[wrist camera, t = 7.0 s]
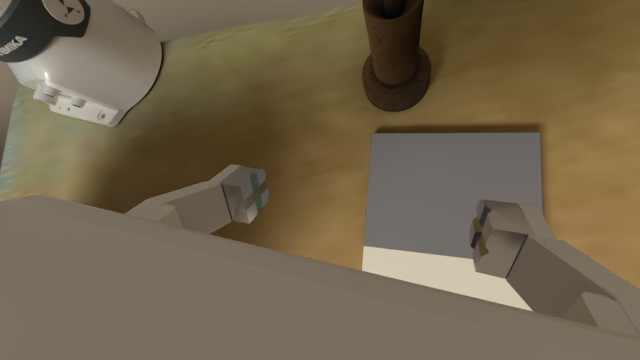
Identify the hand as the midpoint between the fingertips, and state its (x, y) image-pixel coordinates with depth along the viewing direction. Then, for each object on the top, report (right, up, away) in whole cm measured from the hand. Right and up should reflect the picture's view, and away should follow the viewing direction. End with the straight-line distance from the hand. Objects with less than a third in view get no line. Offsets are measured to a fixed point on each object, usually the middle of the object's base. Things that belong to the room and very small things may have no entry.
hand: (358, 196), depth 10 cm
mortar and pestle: (+7, +11, +18) cm, 22 cm away
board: (+10, -6, +13) cm, 18 cm away
